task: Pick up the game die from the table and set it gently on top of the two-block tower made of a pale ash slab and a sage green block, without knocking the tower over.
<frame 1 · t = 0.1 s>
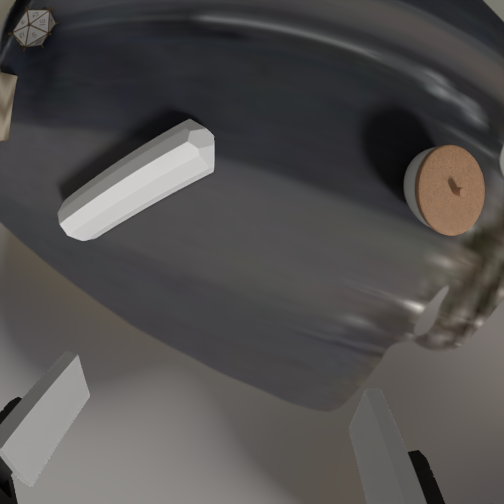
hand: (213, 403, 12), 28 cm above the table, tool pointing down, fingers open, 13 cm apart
game die: (48, 34, 30), on the table
lidded jar: (423, 185, 35), on the table
chamfered grey bar: (139, 181, 37), on the table
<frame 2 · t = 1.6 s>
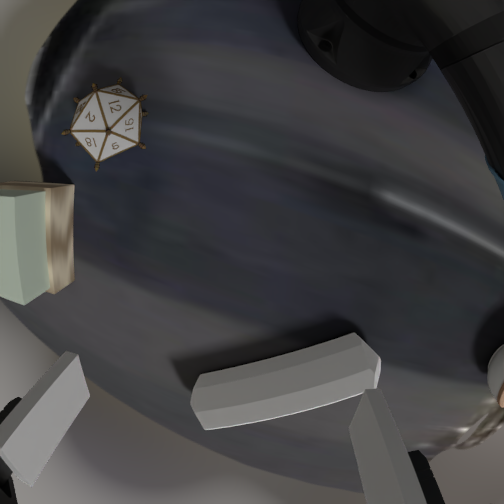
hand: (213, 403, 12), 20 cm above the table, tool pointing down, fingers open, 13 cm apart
tower top block: (15, 236, 27), point 5 cm above the table, touching tower base block
game die: (125, 126, 28), on the table
tower base block: (41, 227, 31), on the table, touching tower top block
lidded jar: (499, 357, 35), on the table
chamfered grey bar: (283, 374, 36), on the table
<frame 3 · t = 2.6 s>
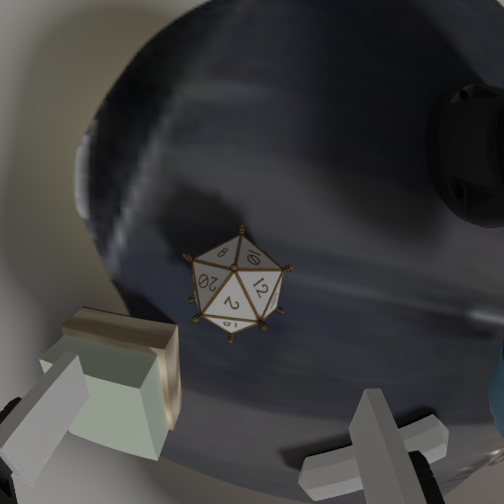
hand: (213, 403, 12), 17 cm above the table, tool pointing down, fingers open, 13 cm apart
tower top block: (116, 385, 27), point 5 cm above the table, touching tower base block
game die: (240, 268, 28), on the table
tower base block: (132, 358, 32), on the table, touching tower top block
chamfered grey bar: (371, 446, 35), on the table
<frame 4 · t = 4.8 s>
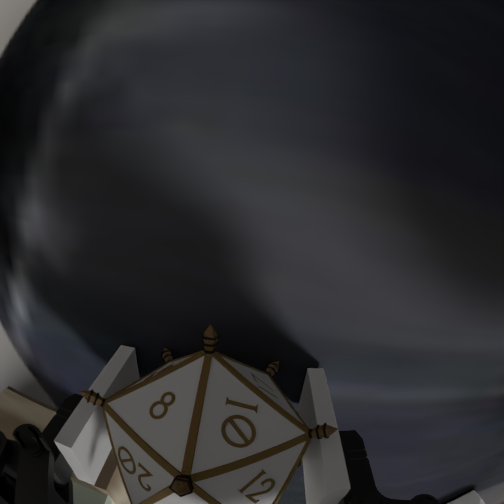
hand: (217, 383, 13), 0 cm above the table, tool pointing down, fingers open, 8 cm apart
tower top block: (64, 497, 13), point 5 cm above the table
game die: (220, 377, 13), on the table, touching gripper
tower base block: (82, 454, 17), on the table
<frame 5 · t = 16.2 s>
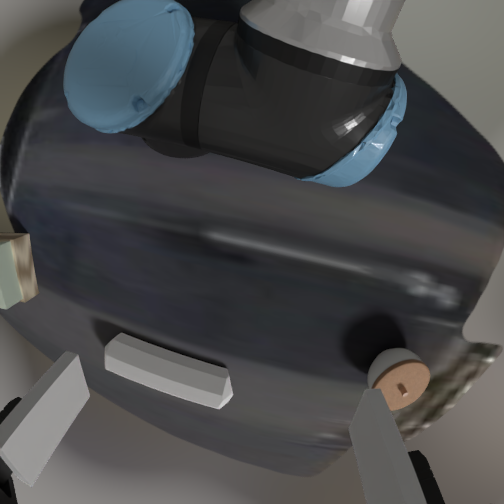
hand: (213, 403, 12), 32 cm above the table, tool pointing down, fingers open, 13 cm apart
tower top block: (0, 269, 41), point 5 cm above the table, touching game die, tower base block
tower base block: (16, 261, 46), on the table, touching tower top block
lidded jar: (387, 361, 47), on the table
chamfered grey bar: (170, 364, 50), on the table
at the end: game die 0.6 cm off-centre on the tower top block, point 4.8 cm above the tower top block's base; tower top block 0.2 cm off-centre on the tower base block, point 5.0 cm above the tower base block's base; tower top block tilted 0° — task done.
